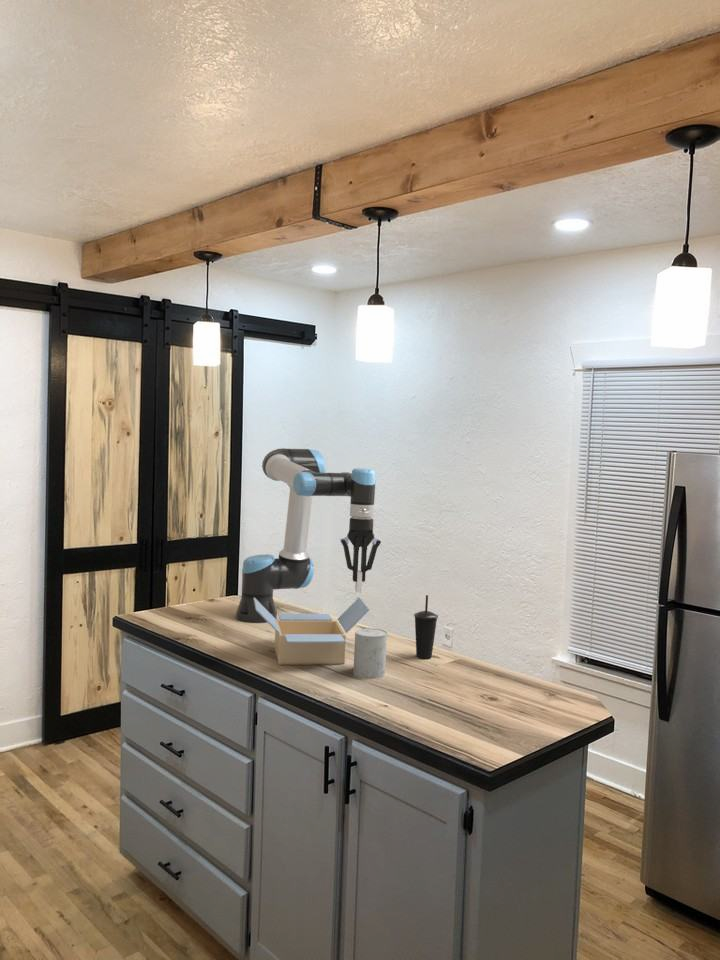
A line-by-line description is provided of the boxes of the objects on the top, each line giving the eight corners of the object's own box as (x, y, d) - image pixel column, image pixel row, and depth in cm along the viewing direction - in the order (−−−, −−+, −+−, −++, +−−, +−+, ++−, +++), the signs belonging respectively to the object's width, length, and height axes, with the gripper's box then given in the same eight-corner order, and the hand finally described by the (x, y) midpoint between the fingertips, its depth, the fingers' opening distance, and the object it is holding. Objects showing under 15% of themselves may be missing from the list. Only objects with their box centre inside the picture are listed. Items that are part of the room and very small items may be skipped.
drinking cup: (408, 657, 243) (411, 595, 242) (417, 652, 250) (420, 591, 249) (430, 662, 240) (433, 599, 239) (439, 656, 246) (442, 595, 245)
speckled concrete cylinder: (386, 669, 230) (388, 629, 229) (384, 679, 220) (386, 637, 219) (354, 667, 231) (356, 627, 230) (351, 677, 221) (353, 635, 220)
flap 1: (275, 618, 246) (274, 619, 246) (254, 597, 244) (253, 598, 244) (279, 632, 229) (278, 633, 229) (256, 609, 228) (255, 610, 228)
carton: (272, 641, 255) (274, 613, 255) (332, 641, 259) (333, 613, 258) (280, 673, 221) (282, 641, 221) (348, 672, 225) (350, 641, 224)
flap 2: (358, 597, 251) (359, 598, 251) (337, 619, 250) (338, 619, 250) (368, 609, 234) (369, 609, 234) (345, 632, 233) (346, 633, 233)
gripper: (343, 518, 235) (339, 594, 237) (384, 519, 238) (380, 594, 239) (339, 515, 243) (336, 589, 244) (379, 516, 245) (375, 589, 247)
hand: (358, 591), depth 242 cm, fingers closed
